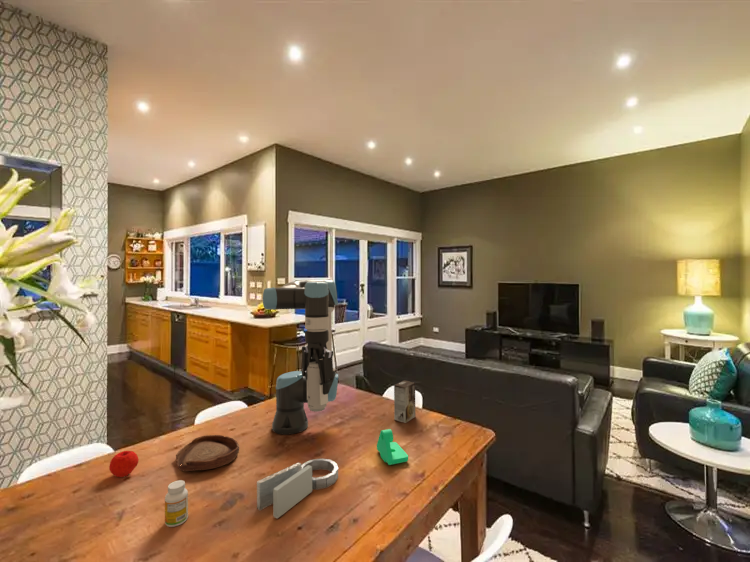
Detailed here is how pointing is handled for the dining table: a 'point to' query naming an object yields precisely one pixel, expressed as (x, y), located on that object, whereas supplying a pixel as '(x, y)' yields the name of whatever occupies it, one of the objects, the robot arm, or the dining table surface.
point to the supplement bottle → (176, 504)
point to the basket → (207, 453)
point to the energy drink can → (314, 387)
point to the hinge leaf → (292, 491)
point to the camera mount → (390, 448)
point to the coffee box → (404, 401)
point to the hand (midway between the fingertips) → (317, 401)
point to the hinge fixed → (272, 481)
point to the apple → (123, 463)
